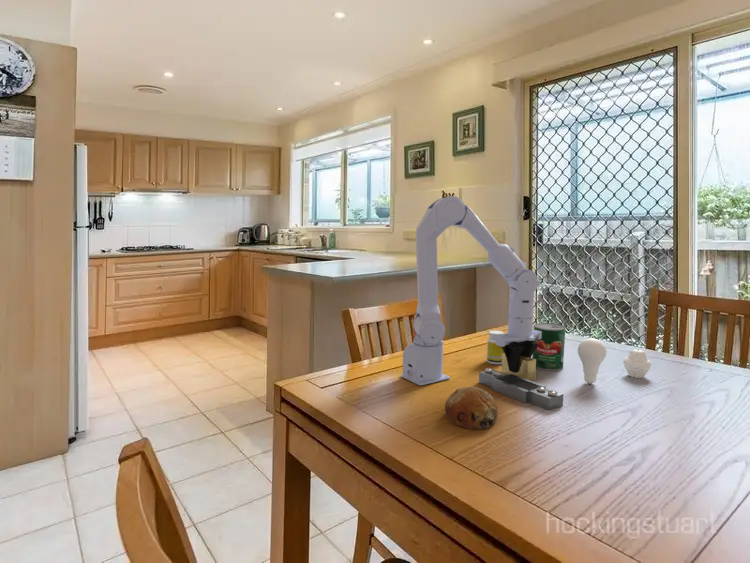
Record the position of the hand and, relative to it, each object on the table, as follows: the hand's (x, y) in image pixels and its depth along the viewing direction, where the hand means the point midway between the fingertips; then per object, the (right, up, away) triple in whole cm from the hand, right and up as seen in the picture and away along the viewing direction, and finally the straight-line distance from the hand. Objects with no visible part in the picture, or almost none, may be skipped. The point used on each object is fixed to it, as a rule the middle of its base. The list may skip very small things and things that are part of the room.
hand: (518, 370), depth 114 cm
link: (0, -1, 0) cm, 1 cm away
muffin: (+30, -2, 0) cm, 30 cm away
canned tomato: (+10, -1, +8) cm, 13 cm away
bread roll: (-17, -5, -25) cm, 31 cm away
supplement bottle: (-3, 0, +11) cm, 12 cm away
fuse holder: (-4, -3, -12) cm, 12 cm away
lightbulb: (+15, -2, -5) cm, 16 cm away
